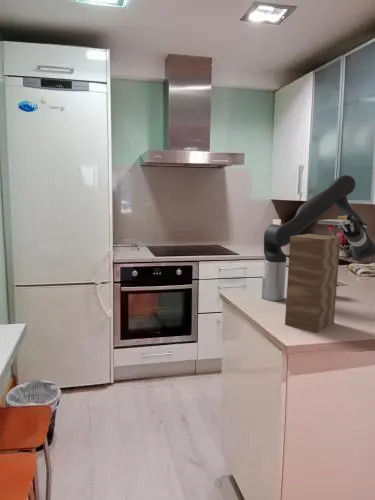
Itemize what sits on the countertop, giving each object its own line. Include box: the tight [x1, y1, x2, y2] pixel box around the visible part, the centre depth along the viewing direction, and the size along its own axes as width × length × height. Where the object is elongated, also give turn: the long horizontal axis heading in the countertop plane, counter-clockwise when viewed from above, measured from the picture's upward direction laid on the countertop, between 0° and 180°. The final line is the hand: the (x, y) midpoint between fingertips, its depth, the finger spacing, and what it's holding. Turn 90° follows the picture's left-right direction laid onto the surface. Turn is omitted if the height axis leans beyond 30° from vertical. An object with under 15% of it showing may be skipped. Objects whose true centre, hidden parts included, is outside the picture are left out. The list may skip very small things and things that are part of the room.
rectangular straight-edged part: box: [317, 215, 353, 226], centre depth 155 cm, size 22×8×3 cm, turn 139°
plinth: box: [284, 233, 342, 333], centre depth 142 cm, size 15×12×32 cm
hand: (344, 215), depth 158 cm, fingers closed on rectangular straight-edged part, 2 cm apart
